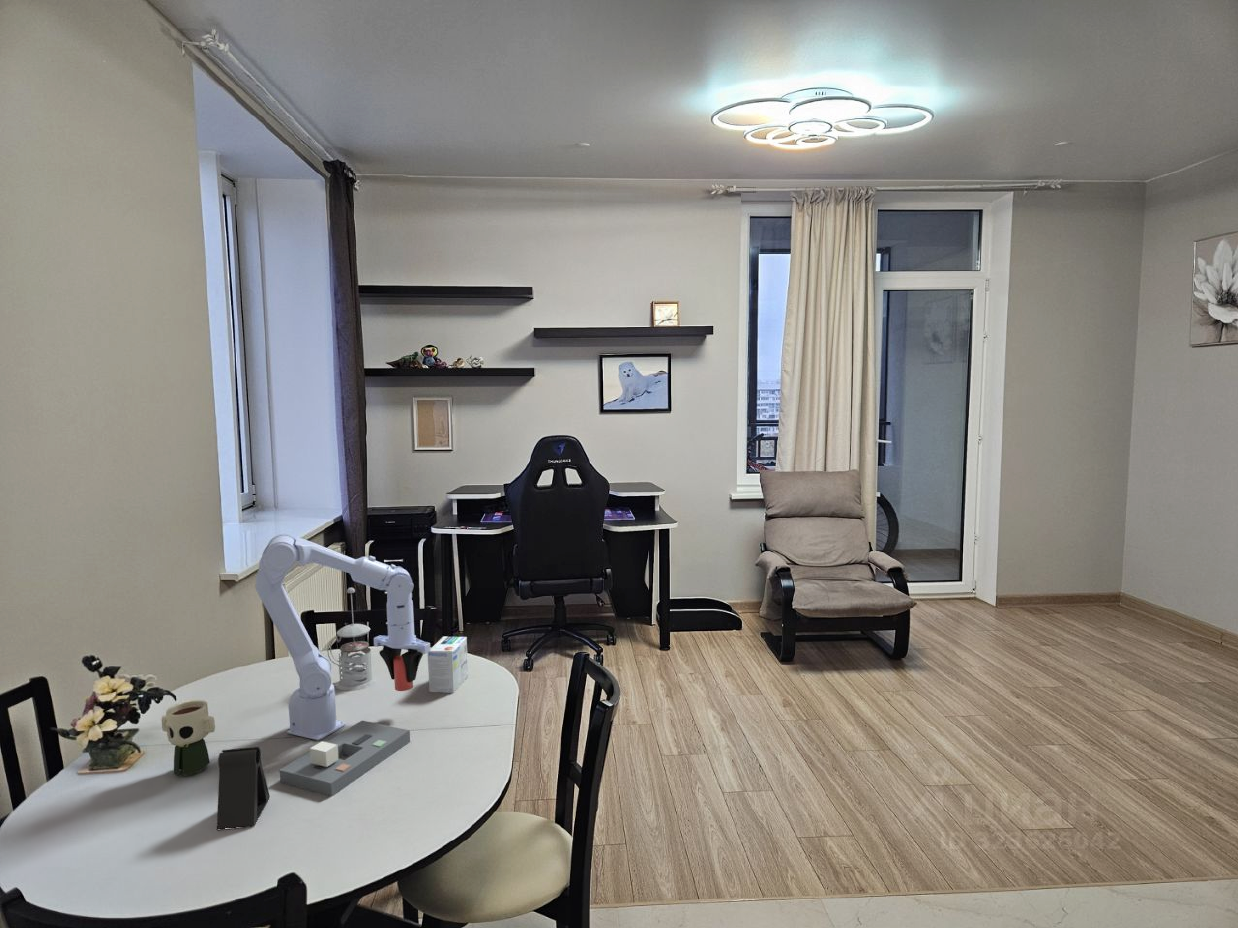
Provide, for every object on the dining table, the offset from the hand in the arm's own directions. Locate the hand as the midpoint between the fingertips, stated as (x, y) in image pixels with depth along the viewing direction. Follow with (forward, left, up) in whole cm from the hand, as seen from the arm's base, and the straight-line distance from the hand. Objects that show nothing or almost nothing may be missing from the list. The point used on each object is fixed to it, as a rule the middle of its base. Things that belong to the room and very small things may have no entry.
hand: (403, 679), depth 165 cm
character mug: (-24, -35, -9) cm, 43 cm away
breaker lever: (+3, -27, -5) cm, 28 cm away
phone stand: (-1, -42, -9) cm, 43 cm away
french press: (-25, +10, -9) cm, 28 cm away
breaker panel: (+3, -21, -8) cm, 23 cm away
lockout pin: (0, 0, -2) cm, 2 cm away
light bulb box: (-1, +18, -9) cm, 20 cm away
